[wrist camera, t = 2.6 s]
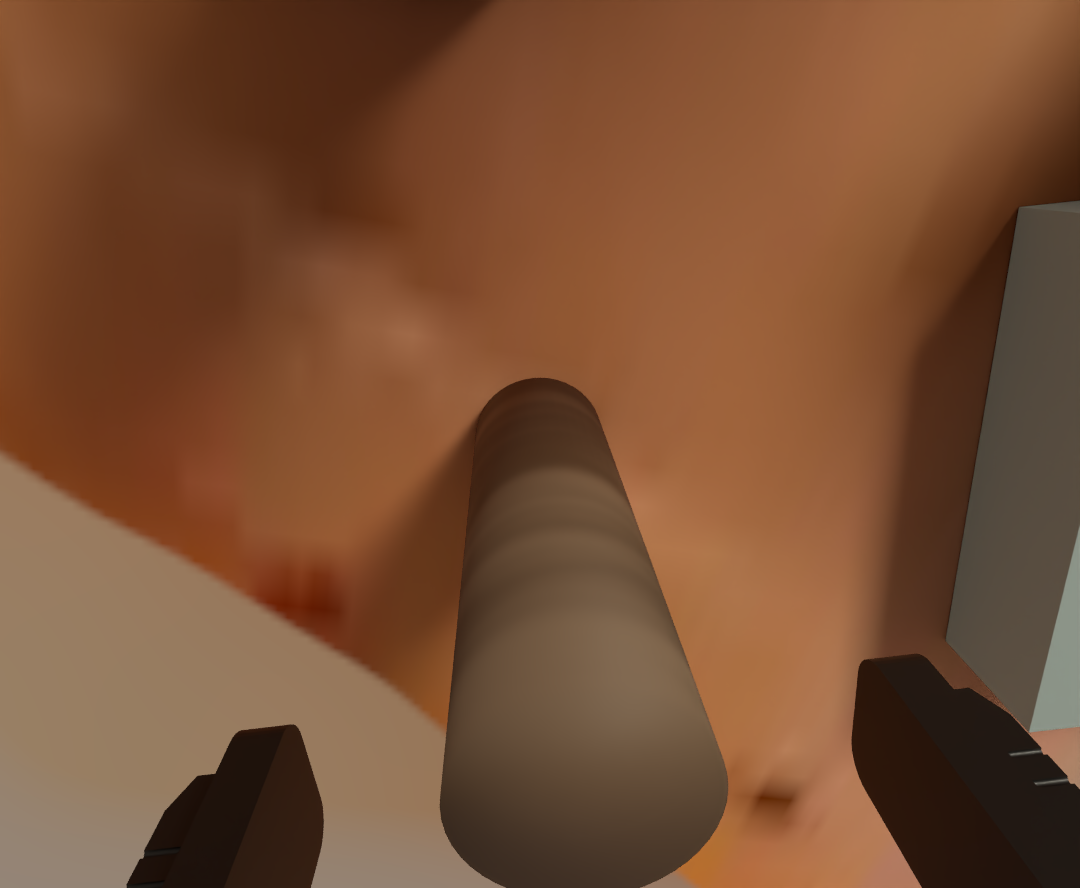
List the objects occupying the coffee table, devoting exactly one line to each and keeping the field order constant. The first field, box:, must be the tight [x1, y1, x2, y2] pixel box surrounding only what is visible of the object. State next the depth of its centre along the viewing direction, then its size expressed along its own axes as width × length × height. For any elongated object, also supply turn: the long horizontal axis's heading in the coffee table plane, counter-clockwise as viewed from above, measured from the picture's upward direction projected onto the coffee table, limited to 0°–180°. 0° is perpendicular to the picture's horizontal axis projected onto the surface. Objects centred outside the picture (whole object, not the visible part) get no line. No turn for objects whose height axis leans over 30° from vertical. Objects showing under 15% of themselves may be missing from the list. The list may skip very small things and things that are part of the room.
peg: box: [440, 378, 728, 888], centre depth 14 cm, size 4×4×12 cm
